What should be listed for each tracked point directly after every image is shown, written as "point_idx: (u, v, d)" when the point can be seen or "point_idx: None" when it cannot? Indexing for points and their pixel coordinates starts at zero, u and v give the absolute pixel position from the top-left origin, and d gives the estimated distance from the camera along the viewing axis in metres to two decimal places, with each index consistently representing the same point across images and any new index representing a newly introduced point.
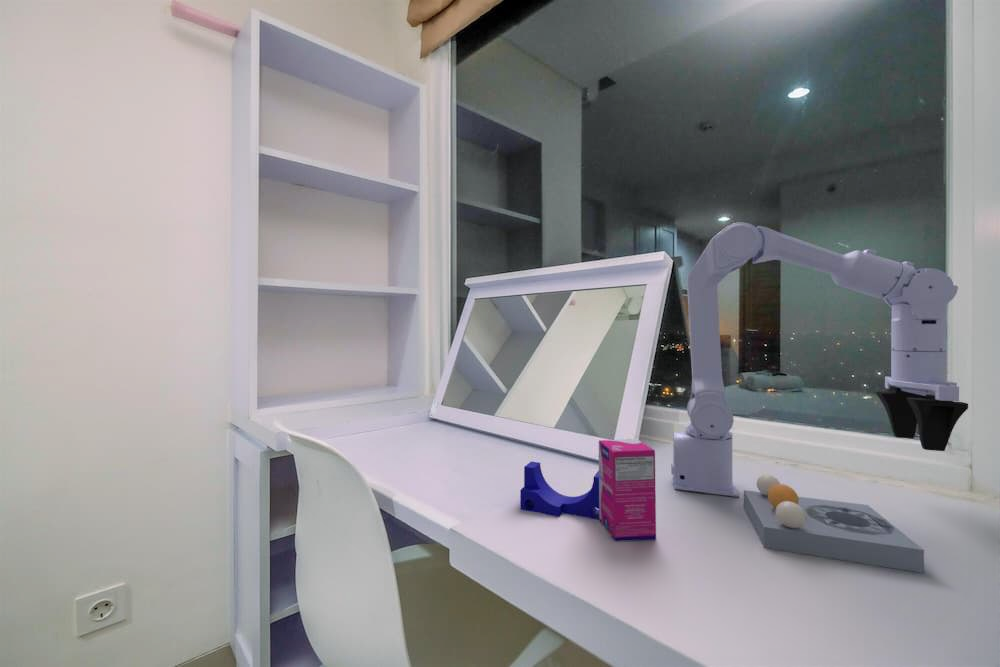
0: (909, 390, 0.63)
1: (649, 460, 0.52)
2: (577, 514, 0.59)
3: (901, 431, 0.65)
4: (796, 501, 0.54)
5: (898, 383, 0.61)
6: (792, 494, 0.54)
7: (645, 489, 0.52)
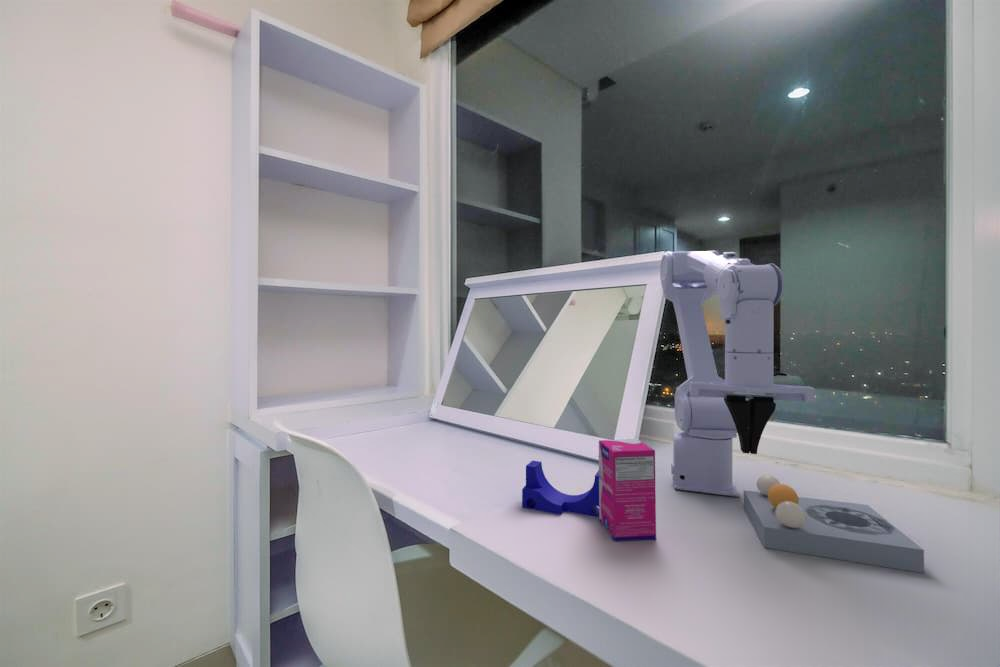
0: None
1: (649, 460, 0.52)
2: (578, 512, 0.60)
3: (748, 443, 0.57)
4: (796, 501, 0.54)
5: None
6: (792, 494, 0.54)
7: (645, 489, 0.52)
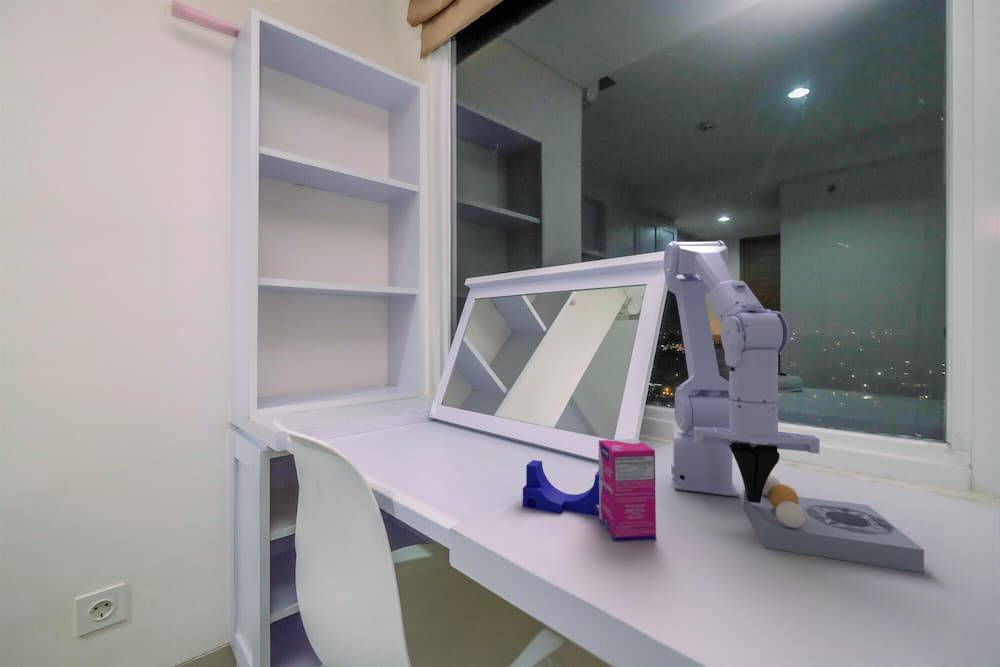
0: None
1: (648, 460, 0.52)
2: (579, 511, 0.60)
3: None
4: (796, 501, 0.54)
5: None
6: (792, 494, 0.54)
7: (645, 489, 0.52)
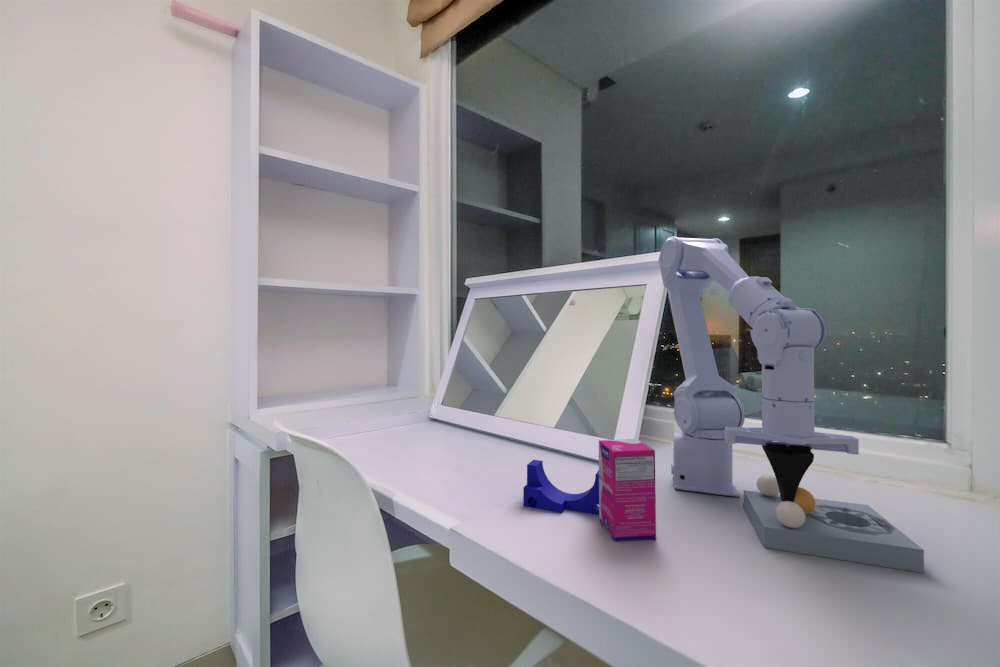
0: None
1: (649, 460, 0.52)
2: (579, 511, 0.61)
3: None
4: (807, 513, 0.53)
5: None
6: (812, 507, 0.53)
7: (645, 489, 0.52)
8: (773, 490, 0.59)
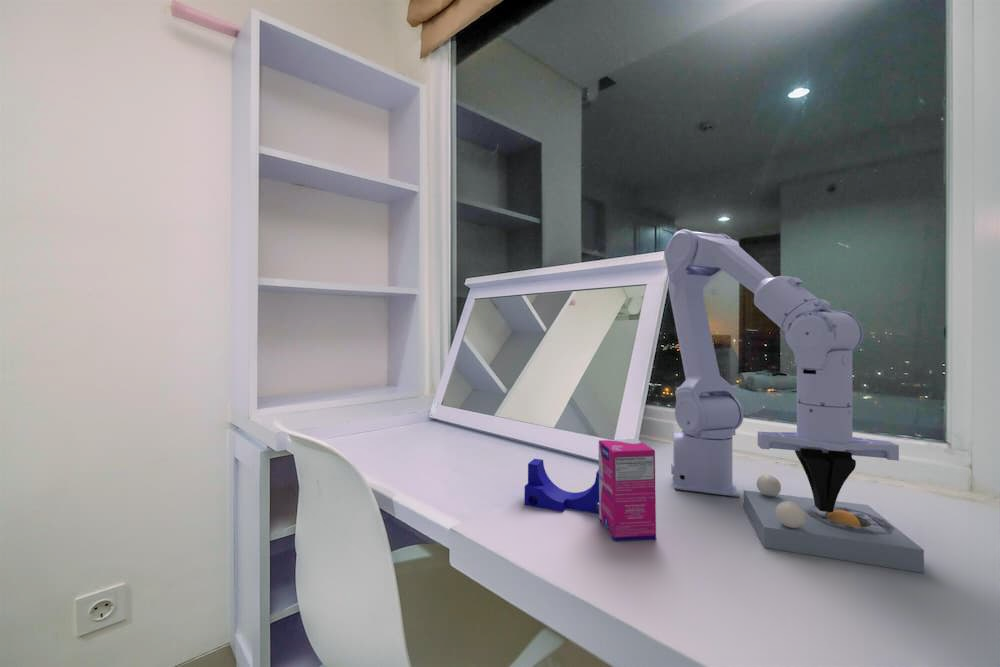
0: None
1: (648, 460, 0.52)
2: (580, 509, 0.61)
3: None
4: None
5: None
6: None
7: (645, 489, 0.52)
8: (773, 490, 0.59)
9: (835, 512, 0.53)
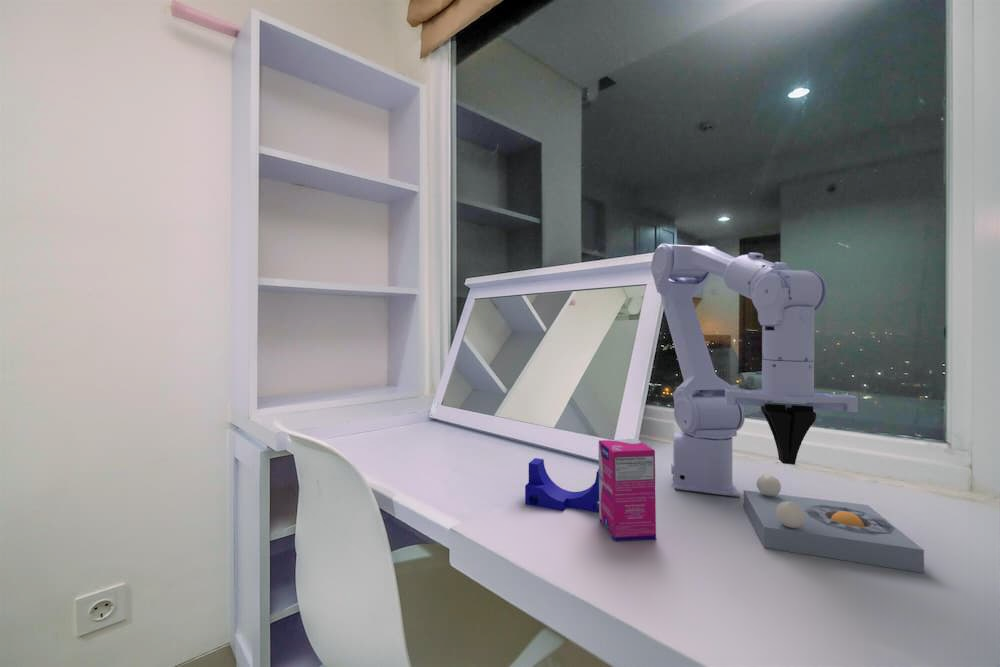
0: None
1: (648, 460, 0.52)
2: (580, 508, 0.61)
3: None
4: None
5: None
6: None
7: (645, 489, 0.52)
8: (773, 490, 0.59)
9: (842, 513, 0.53)
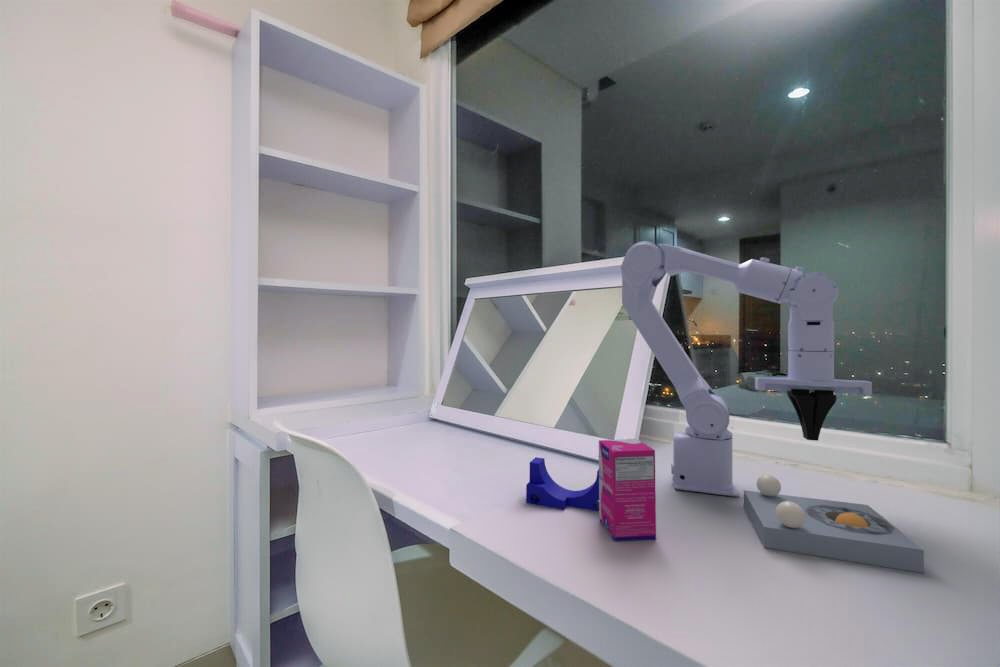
0: None
1: (648, 460, 0.52)
2: (581, 507, 0.62)
3: None
4: None
5: None
6: None
7: (645, 489, 0.52)
8: (773, 490, 0.59)
9: (851, 516, 0.52)
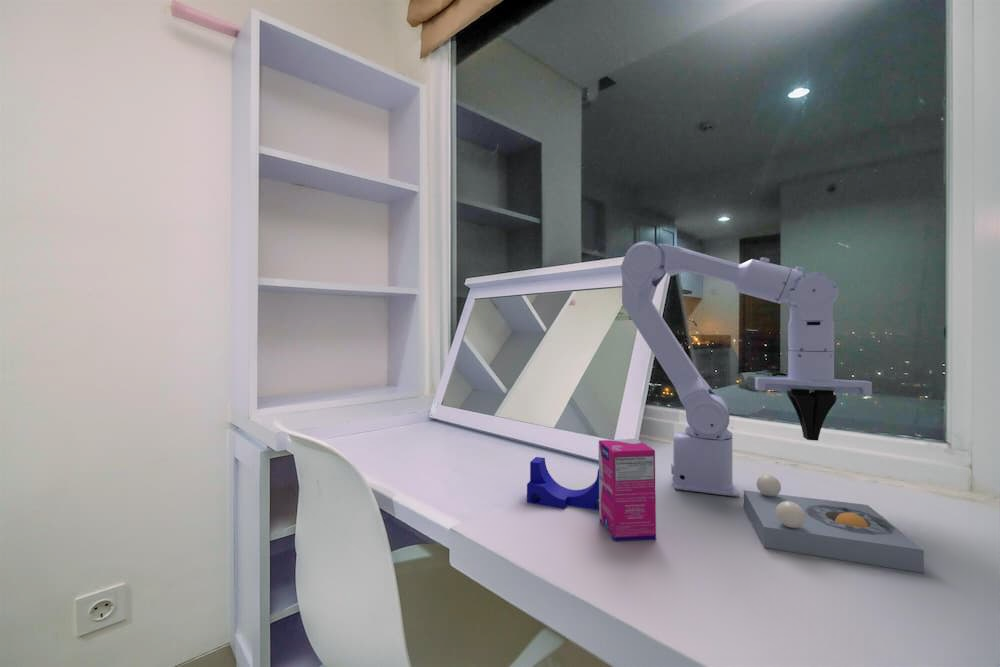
0: None
1: (648, 460, 0.52)
2: (582, 506, 0.62)
3: None
4: None
5: None
6: None
7: (645, 489, 0.52)
8: (773, 490, 0.59)
9: (850, 516, 0.52)
